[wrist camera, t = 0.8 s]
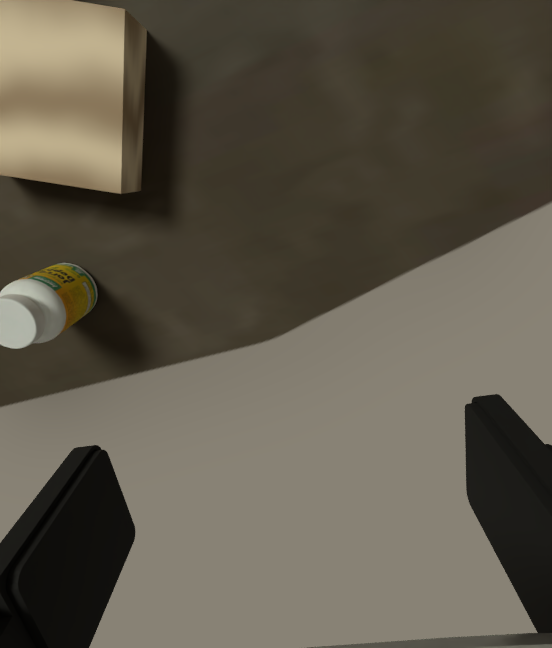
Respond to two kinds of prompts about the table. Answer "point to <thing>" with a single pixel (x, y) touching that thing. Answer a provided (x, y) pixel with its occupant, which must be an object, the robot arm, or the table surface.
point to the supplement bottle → (44, 304)
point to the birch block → (72, 94)
